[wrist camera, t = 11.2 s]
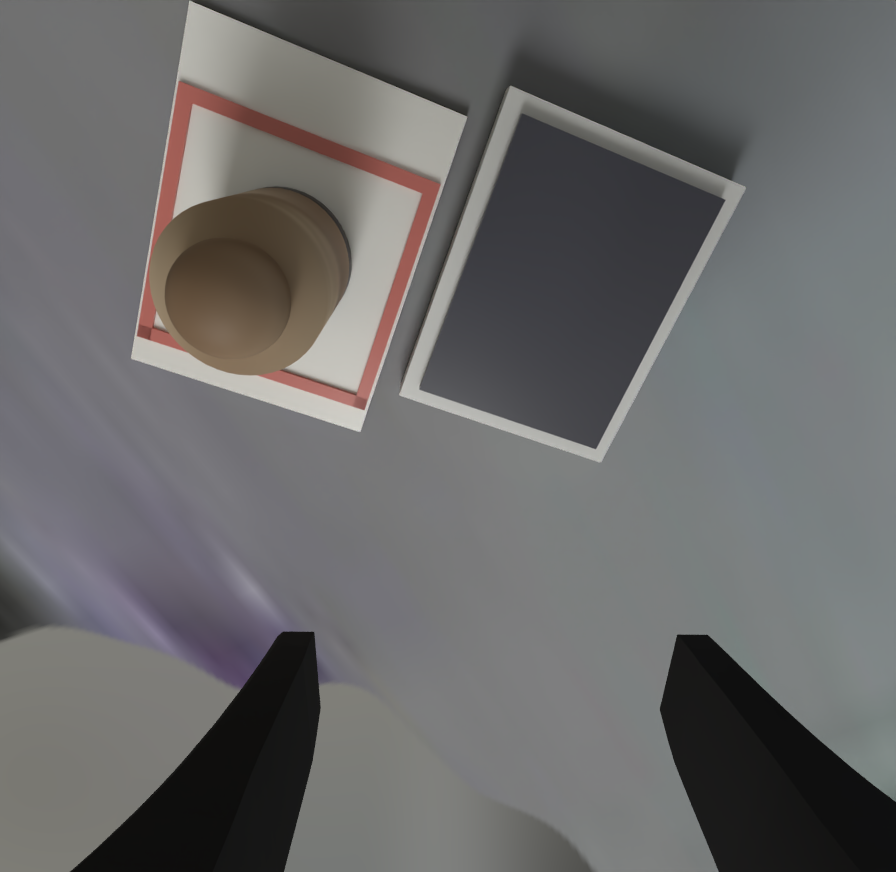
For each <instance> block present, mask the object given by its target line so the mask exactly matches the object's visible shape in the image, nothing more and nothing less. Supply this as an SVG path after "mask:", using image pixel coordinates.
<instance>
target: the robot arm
mask: <svg viewBox="0 0 896 872" xmlns="http://www.w3.org/2000/svg"><path fill="white" fill-rule="evenodd" d="M660 712H661V715H662V719H663V723H664V727H665V731H666V734H667V738H668V742H669V745H670V749H671V752H672V755H673V759H674V762H675V765H676V767H677V770H678V772H679V775H680V777H681V780H682V782H683V785H684V787H685V790H686V792H687V795H688V797H689V800H690V802H691V805H692V807H693V810H694V812H695V814H696V817H697V819H698V822H699V824H700V827H701V829H702V832H703V834H704V836H705V839H706V841H707V844H708V846H709V849H710V851H711V853H712V856H713V858H714V861H715V863H716V866H717V868H718V871H719V872H896V802H895V801H894V800H892V799H891V798H890V797H888V796H887V795H886V794H884V793H883V792H882V791H880V790H879V789H878V788H876V787H875V786H874V785H872V784H871V783H870V782H869V781H867V780H866V779H865V778H864V777H862V776H861V775H860V774H859V773H857V772H856V771H855V770H854V769H853V768H851V767H850V766H849V765H848V764H847V763H845V762H844V761H843V760H842V759H841V758H840V757H838V756H837V755H836V754H835V753H834V752H833V751H831V750H830V749H829V748H828V747H827V746H825V745H824V744H823V743H822V742H821V741H820V740H818V739H817V738H816V737H815V736H814V735H813V734H812V733H811V732H809V731H808V730H807V729H806V728H805V727H804V726H803V725H802V724H801V723H799V722H798V721H797V720H796V719H795V718H794V717H793V716H792V715H791V714H790V713H789V712H787V711H786V710H785V709H784V708H783V707H782V706H781V705H780V704H779V703H778V702H777V701H776V700H775V699H774V698H773V697H771V696H770V695H769V694H768V693H767V692H766V691H765V690H764V689H763V688H762V687H761V686H760V685H759V684H758V683H757V682H756V681H755V680H754V679H753V678H752V677H751V676H750V675H749V674H748V673H747V672H746V671H744V670H743V669H742V668H741V667H740V666H739V665H738V664H737V663H736V662H735V661H734V660H733V659H732V658H731V657H730V656H729V655H728V654H727V653H726V652H725V651H724V650H723V649H722V648H721V647H720V646H719V645H718V644H717V643H716V642H715V641H714V640H713V639H711V638H710V637H709V636H708V635H677V638H676V642H675V647H674V651H673V655H672V659H671V664H670V668H669V672H668V676H667V681H666V685H665V689H664V694H663V698H662V702H661V706H660ZM319 714H320V695H319V683H318V672H317V660H316V648H315V636H314V632H282V633H281V634H280V635H279V636H278V637H277V638H276V640H275V641H274V643H273V644H272V646H271V647H270V649H269V650H268V652H267V654H266V655H265V657H264V658H263V659H262V661H261V662H260V664H259V665H258V667H257V668H256V670H255V671H254V672H253V674H252V675H251V677H250V678H249V679H248V681H247V682H246V684H245V685H244V686H243V688H242V689H241V690H240V692H239V693H238V694H237V696H236V697H235V698H234V699H233V701H232V702H231V703H230V705H229V706H228V707H227V709H226V710H225V711H224V713H223V714H222V715H221V716H220V718H219V719H218V720H217V722H216V723H215V724H214V725H213V727H212V728H211V729H210V730H209V731H208V732H207V734H206V735H205V736H204V737H203V738H202V739H201V741H200V742H199V743H198V744H197V745H196V747H195V748H194V749H193V750H192V751H191V753H190V754H189V755H188V756H187V757H186V758H185V760H184V761H183V762H182V763H181V764H180V765H179V766H178V767H177V769H176V770H175V771H174V772H173V773H172V774H171V775H170V776H169V777H168V778H167V779H166V781H165V782H164V783H163V784H162V785H161V786H160V787H159V788H158V789H157V790H156V791H155V792H154V793H153V794H152V795H151V796H150V797H149V798H148V799H147V800H146V801H145V802H144V803H143V804H142V805H141V806H140V807H139V808H138V810H136V811H135V812H134V813H133V814H132V815H131V816H130V817H129V818H128V819H127V820H126V821H125V822H124V823H123V824H122V825H121V826H120V827H119V828H118V829H117V830H116V831H114V832H113V833H112V834H111V835H110V836H109V837H108V838H107V839H106V840H105V841H104V842H103V843H102V844H101V845H100V846H99V847H98V848H96V849H95V850H94V851H93V852H92V853H91V854H90V855H89V856H87V857H86V858H85V859H84V860H83V861H82V862H81V863H80V864H78V866H76V867H75V868H74V869H73V870H72V871H70V872H284V869H285V865H286V861H287V857H288V854H289V850H290V846H291V842H292V838H293V834H294V831H295V827H296V823H297V819H298V815H299V812H300V808H301V804H302V800H303V796H304V792H305V789H306V784H307V781H308V777H309V773H310V769H311V765H312V761H313V754H314V748H315V741H316V736H317V729H318V722H319Z"/></svg>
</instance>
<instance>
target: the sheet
mask: <svg viewBox="0 0 896 872" xmlns="http://www.w3.org/2000/svg"><path fill="white" fill-rule="evenodd" d="M466 120H467V116H465V115H462V114H460V113H457V112H455V111H453V110H450V109H448V108H445V107H443V106H441V105H438V104H436V103H433V102H431V101H429V100H426V99H424V98H421V97H419V96H417V95H414V94H412V93H410V92H407V91H405V90H402V89H400V88H398V87H395V86H393V85H390V84H388V83H386V82H383V81H381V80H378V79H376V78H374V77H371V76H369V75H366V74H364V73H362V72H359V71H357V70H354V69H352V68H350V67H347V66H345V65H342V64H340V63H338V62H335V61H333V60H330V59H328V58H326V57H323V56H321V55H319V54H316V53H314V52H311V51H309V50H307V49H304V48H302V47H299V46H297V45H295V44H292V43H290V42H287V41H285V40H283V39H280V38H278V37H275V36H273V35H271V34H268V33H266V32H263V31H261V30H259V29H256V28H254V27H251V26H249V25H247V24H244V23H242V22H239V21H237V20H235V19H232V18H230V17H228V16H225V15H223V14H220V13H218V12H216V11H213V10H211V9H208V8H206V7H204V6H201V5H199V4H196V3H194V2H192V1H189V7H188V13H187V19H186V25H185V31H184V38H183V44H182V50H181V56H180V62H179V68H178V74H177V80H176V87H175V93H174V99H173V105H172V111H171V117H170V123H169V129H168V136H167V142H166V148H165V154H164V160H163V166H162V172H161V178H160V185H159V191H158V197H157V203H156V209H155V215H154V221H153V227H152V234H151V240H150V246H149V252H148V258H147V264H146V270H145V276H144V283H143V289H142V295H141V301H140V307H139V313H138V319H137V325H136V332H135V338H134V344H133V350H132V356H131V359H134V360H137V361H140V362H143V363H146V364H149V365H152V366H156V367H159V368H162V369H165V370H168V371H171V372H174V373H177V374H181V375H184V376H187V377H190V378H193V379H196V380H199V381H202V382H205V383H209V384H212V385H215V386H218V387H221V388H224V389H227V390H230V391H234V392H237V393H240V394H243V395H246V396H249V397H252V398H255V399H258V400H262V401H265V402H268V403H271V404H274V405H277V406H280V407H283V408H287V409H290V410H293V411H296V412H299V413H302V414H305V415H308V416H312V417H315V418H318V419H321V420H324V421H327V422H330V423H333V424H336V425H340V426H343V427H346V428H349V429H352V430H355V431H358V432H360V431H361V428H362V425H363V422H364V419H365V416H366V413H367V410H368V407H369V405H370V402H371V399H372V396H373V393H374V390H375V387H376V384H377V381H378V378H379V375H380V372H381V369H382V366H383V363H384V360H385V358H386V355H387V352H388V349H389V346H390V343H391V340H392V337H393V334H394V331H395V328H396V325H397V322H398V319H399V316H400V313H401V311H402V308H403V305H404V302H405V299H406V296H407V293H408V290H409V287H410V284H411V281H412V278H413V275H414V272H415V269H416V266H417V264H418V261H419V258H420V255H421V252H422V249H423V246H424V243H425V240H426V237H427V234H428V231H429V228H430V225H431V222H432V219H433V217H434V214H435V211H436V208H437V205H438V202H439V199H440V196H441V193H442V190H443V187H444V184H445V181H446V178H447V175H448V172H449V170H450V167H451V164H452V161H453V158H454V155H455V152H456V149H457V146H458V143H459V140H460V137H461V134H462V131H463V128H464V125H465V123H466ZM273 186H279V187H288V188H293V189H296V190H299V191H302V192H305V193H307V194H309V195H310V196H312V197H314V198H315V199H317V200H318V201H320V202H321V203H322V204H324V205H325V206H326V207H327V208H328V209H329V210H330V211H331V212H332V213H333V214H334V216H335V217H336V218H337V220H338V221H339V223H340V224H341V226H342V228H343V230H344V232H345V234H346V237H347V239H348V242H349V246H350V250H351V258H352V270H351V277H350V281H349V284H348V287H347V289H346V292H345V294H344V295H343V297H342V299H341V300H340V302H339V304H338V305H337V307H336V308H335V310H334V312H333V313H332V315H331V317H330V318H329V320H328V321H327V323H326V325H325V326H324V328H323V330H322V331H321V333H320V334H319V336H318V338H317V339H316V341H315V342H314V344H313V345H312V347H311V348H310V349H309V350H308V351H307V353H306V354H304V355H303V356H302V357H301V358H300V359H299V360H297V361H296V362H294V363H293V364H291V365H290V366H288V367H286V368H284V369H282V370H279V371H276V372H273V373H268V374H263V375H251V376H250V375H237V374H232V373H227V372H224V371H221V370H217V369H215V368H213V367H211V366H208V365H206V364H204V363H203V362H201V361H199V360H198V359H196V358H195V357H193V356H192V355H191V354H189V353H188V352H187V351H185V350H184V349H183V348H182V347H181V346H180V345H179V344H178V343H177V342H176V341H175V340H174V338H173V337H172V336H171V335H170V334H169V332H168V331H167V329H166V328H165V326H164V325H163V323H162V321H161V319H160V317H159V315H158V313H157V311H156V308H155V306H154V303H153V299H152V295H151V290H150V282H149V268H150V261H151V256H152V253H153V249H154V246H155V244H156V242H157V240H158V238H159V236H160V234H161V233H162V231H163V230H164V228H165V227H166V226H167V225H168V224H169V223H170V222H171V221H172V220H173V219H174V218H175V217H176V216H177V215H179V214H180V213H181V212H183V211H185V210H186V209H188V208H190V207H192V206H194V205H197V204H200V203H202V202H206V201H210V200H214V199H219V198H223V197H227V196H231V195H235V194H239V193H243V192H247V191H251V190H255V189H259V188H264V187H273Z"/></svg>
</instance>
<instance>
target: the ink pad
mask: <svg viewBox="0 0 896 872" xmlns="http://www.w3.org/2000/svg"><path fill="white" fill-rule="evenodd" d="M746 188H747V187H744V186H742V185H740V184H737V183H735V182H733V181H730V180H728V179H726V178H723V177H721V176H719V175H717V174H714V173H712V172H710V171H707V170H705V169H703V168H700V167H698V166H696V165H693V164H691V163H689V162H686V161H684V160H682V159H679V158H677V157H675V156H672V155H670V154H668V153H666V152H663V151H661V150H659V149H656V148H654V147H652V146H649V145H647V144H645V143H642V142H640V141H638V140H635V139H633V138H631V137H628V136H626V135H624V134H621V133H619V132H617V131H615V130H612V129H610V128H608V127H605V126H603V125H601V124H598V123H596V122H594V121H591V120H589V119H587V118H584V117H582V116H580V115H577V114H575V113H573V112H570V111H568V110H566V109H564V108H561V107H559V106H557V105H554V104H552V103H550V102H547V101H545V100H543V99H540V98H538V97H536V96H533V95H531V94H529V93H526V92H524V91H522V90H519V89H517V88H515V87H513V86H509V87H508V88H507V89H506V91H505V94H504V97H503V100H502V102H501V105H500V108H499V111H498V114H497V116H496V119H495V122H494V125H493V128H492V130H491V133H490V136H489V139H488V142H487V144H486V147H485V150H484V153H483V156H482V158H481V161H480V164H479V167H478V170H477V172H476V175H475V178H474V181H473V184H472V186H471V189H470V192H469V195H468V198H467V200H466V203H465V206H464V209H463V211H462V214H461V217H460V220H459V223H458V225H457V228H456V231H455V234H454V237H453V239H452V242H451V245H450V248H449V251H448V253H447V256H446V259H445V262H444V265H443V267H442V270H441V273H440V276H439V279H438V281H437V284H436V287H435V290H434V293H433V295H432V298H431V301H430V304H429V307H428V309H427V312H426V315H425V318H424V321H423V323H422V326H421V329H420V332H419V335H418V337H417V340H416V343H415V346H414V348H413V351H412V354H411V357H410V360H409V362H408V365H407V368H406V371H405V374H404V376H403V379H402V382H401V386H400V392H399V395H400V396H403V397H406V398H409V399H412V400H415V401H418V402H421V403H423V404H426V405H429V406H432V407H435V408H438V409H441V410H444V411H447V412H450V413H453V414H456V415H459V416H462V417H465V418H468V419H471V420H474V421H477V422H480V423H483V424H486V425H489V426H492V427H495V428H498V429H501V430H504V431H507V432H510V433H513V434H516V435H519V436H522V437H525V438H528V439H531V440H534V441H537V442H540V443H543V444H546V445H549V446H552V447H555V448H558V449H561V450H564V451H567V452H570V453H573V454H576V455H579V456H582V457H585V458H588V459H591V460H594V461H597V462H600V463H601V462H602V460H603V458H604V456H605V454H606V452H607V450H608V448H609V446H610V445H611V443H612V441H613V439H614V437H615V435H616V433H617V431H618V429H619V428H620V426H621V424H622V422H623V420H624V418H625V416H626V414H627V412H628V411H629V409H630V407H631V405H632V403H633V401H634V399H635V397H636V395H637V393H638V392H639V390H640V388H641V386H642V384H643V382H644V380H645V378H646V376H647V375H648V373H649V371H650V369H651V367H652V365H653V363H654V361H655V359H656V358H657V356H658V354H659V352H660V350H661V348H662V346H663V344H664V342H665V341H666V339H667V337H668V335H669V333H670V331H671V329H672V327H673V325H674V324H675V322H676V320H677V318H678V316H679V314H680V312H681V310H682V308H683V307H684V305H685V303H686V301H687V299H688V297H689V295H690V293H691V291H692V290H693V288H694V286H695V284H696V282H697V280H698V278H699V276H700V274H701V273H702V271H703V269H704V267H705V265H706V263H707V261H708V259H709V257H710V256H711V254H712V252H713V250H714V248H715V246H716V244H717V242H718V240H719V239H720V237H721V235H722V233H723V231H724V229H725V227H726V225H727V223H728V222H729V220H730V218H731V216H732V214H733V212H734V210H735V208H736V206H737V205H738V203H739V201H740V199H741V197H742V195H743V193H744V191H745V189H746Z"/></svg>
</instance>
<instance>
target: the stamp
mask: <svg viewBox="0 0 896 872" xmlns="http://www.w3.org/2000/svg"><path fill="white" fill-rule="evenodd" d="M351 270H352V258H351V250H350V246H349V242H348V239H347V237H346V234H345V232H344V230H343V228H342V226H341V224H340V223H339V221H338V220H337V218H336V217H335V216H334V214H333V213H332V212H331V211H330V210H329V209H328V208H327V207H326V206H325V205H324V204H322V203H321V202H320V201H318V200H317V199H315V198H314V197H312V196H310V195H309V194H307V193H305V192H302V191H299V190H296V189H293V188H288V187H279V186H273V187H264V188H259V189H255V190H251V191H247V192H243V193H239V194H235V195H231V196H227V197H223V198H219V199H214V200H210V201H206V202H202V203H200V204H197V205H194V206H192V207H190V208H188V209H186V210H185V211H183V212H181V213H180V214H179V215H177V216H176V217H175V218H174V219H173V220H172V221H171V222H170V223H169V224H168V225H167V226H166V227H165V228H164V230H163V231H162V233H161V234H160V236H159V238H158V240H157V242H156V244H155V246H154V249H153V253H152V256H151V261H150V268H149V282H150V290H151V295H152V299H153V303H154V306H155V308H156V311H157V313H158V315H159V317H160V319H161V321H162V323H163V325H164V326H165V328H166V329H167V331H168V332H169V334H170V335H171V336H172V337H173V338H174V340H175V341H176V342H177V343H178V344H179V345H180V346H181V347H182V348H183V349H184V350H185V351H187V352H188V353H189V354H191V355H192V356H193V357H195V358H196V359H198V360H199V361H201V362H203V363H204V364H206V365H208V366H211V367H213V368H215V369H217V370H221V371H224V372H227V373H232V374H237V375H250V376H251V375H263V374H268V373H273V372H276V371H279V370H282V369H284V368H286V367H288V366H290V365H291V364H293V363H294V362H296V361H297V360H299V359H300V358H301V357H302V356H303V355H304V354H306V353H307V351H308V350H309V349H310V348H311V347H312V345H313V344H314V342H315V341H316V339H317V338H318V336H319V334H320V333H321V331H322V330H323V328H324V326H325V325H326V323H327V321H328V320H329V318H330V317H331V315H332V313H333V312H334V310H335V308H336V307H337V305H338V304H339V302H340V300H341V299H342V297H343V295H344V294H345V292H346V289H347V287H348V284H349V281H350V277H351Z"/></svg>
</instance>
